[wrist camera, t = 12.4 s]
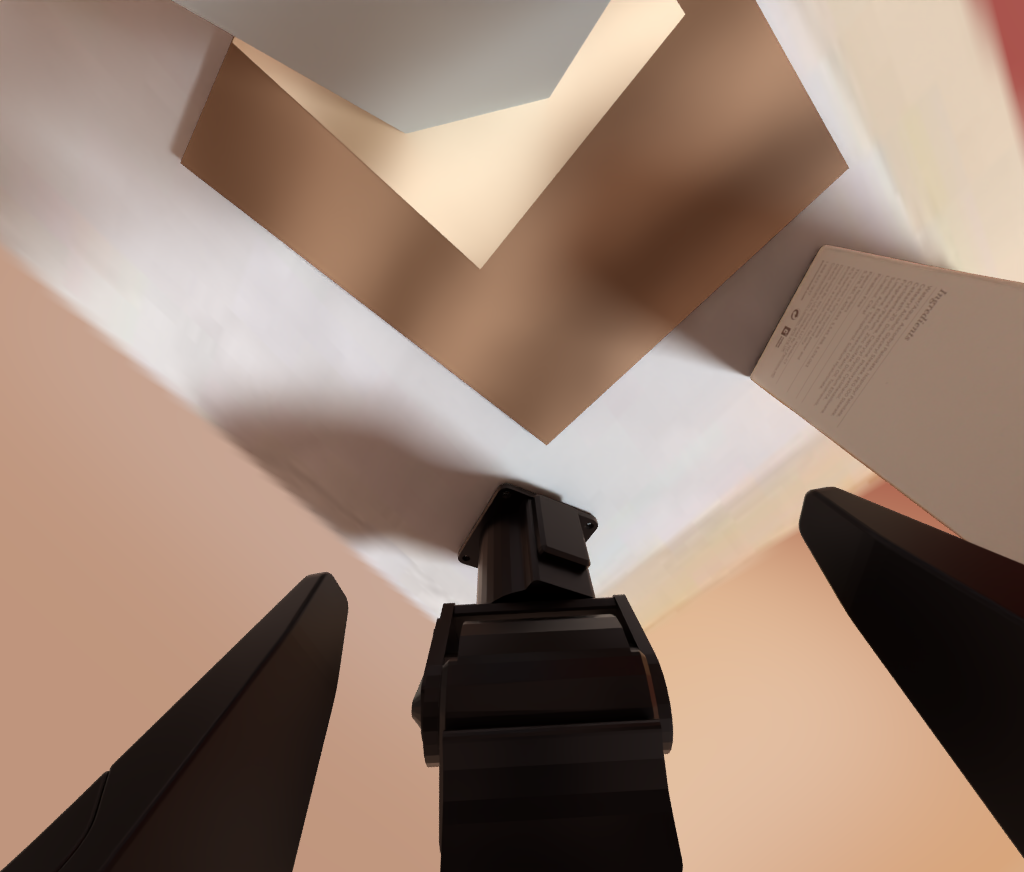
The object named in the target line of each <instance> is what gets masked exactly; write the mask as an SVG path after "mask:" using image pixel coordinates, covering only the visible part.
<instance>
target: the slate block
mask: <svg viewBox="0 0 1024 872" xmlns="http://www.w3.org/2000/svg"><path fill="white" fill-rule="evenodd" d="M172 1H173V2H175V3H177V4H179V5H180V6H182V7H184V8H186V9H187V10H189V11H191V12H193V13H194V14H196V15H198V16H200V17H201V18H203V19H205V20H207V21H208V22H210V23H212V24H214V25H215V26H217V27H219V28H221V29H223V30H224V31H226V32H228V33H230V34H231V35H233V36H235V37H237V38H238V39H240V40H242V41H244V42H245V43H247V44H249V45H251V46H252V47H254V48H256V49H258V50H259V51H261V52H263V53H265V54H266V55H268V56H270V57H272V58H273V59H275V60H277V61H279V62H281V63H282V64H284V65H286V66H288V67H289V68H291V69H293V70H295V71H296V72H298V73H300V74H302V75H303V76H305V77H307V78H309V79H310V80H312V81H314V82H316V83H317V84H319V85H321V86H323V87H324V88H326V89H328V90H330V91H331V92H333V93H335V94H337V95H339V96H340V97H342V98H344V99H346V100H347V101H349V102H351V103H353V104H354V105H356V106H358V107H360V108H361V109H363V110H365V111H367V112H368V113H370V114H372V115H374V116H375V117H377V118H379V119H381V120H382V121H384V122H386V123H388V124H389V125H391V126H393V127H395V128H397V129H398V130H400V131H402V132H404V133H405V134H407V133H411V132H415V131H419V130H423V129H427V128H431V127H435V126H439V125H443V124H447V123H451V122H455V121H459V120H463V119H467V118H471V117H475V116H479V115H483V114H487V113H491V112H495V111H499V110H503V109H507V108H511V107H515V106H519V105H523V104H527V103H531V102H535V101H539V100H543V99H547V98H549V97H550V96H551V94H552V93H553V91H554V89H555V88H556V86H557V85H558V83H559V82H560V80H561V78H562V77H563V75H564V74H565V72H566V70H567V69H568V67H569V66H570V64H571V63H572V61H573V59H574V58H575V56H576V55H577V53H578V51H579V50H580V48H581V47H582V45H583V43H584V42H585V40H586V39H587V37H588V36H589V34H590V32H591V31H592V29H593V28H594V26H595V24H596V23H597V21H598V20H599V18H600V16H601V15H602V13H603V12H604V10H605V9H606V7H607V5H608V4H609V2H610V1H611V0H172Z"/></svg>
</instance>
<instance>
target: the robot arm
mask: <svg viewBox="0 0 1024 872" xmlns="http://www.w3.org/2000/svg"><path fill="white" fill-rule="evenodd" d="M505 491H507V492H509V493H508V494H504V493H503V492H505ZM588 523H591V524H589V525H587V524H588ZM597 527H598V523H597V519H596V518H595V517H594V516H592V515H590V514H587V513H584V512H582V511H579V510H577V509H576V508H574V507H571V506H569V505H566V504H563V503H561V502H558V501H556V500H553V499H550V498H548V497H545V496H543V495H537V494H535V493H532V492H529V491H527V490H524V489H521V488H519V487H516V486H514V485H511V484H507V483H506V484H502V485H500V486H499V487H498V488H497V490H496V492H495V493H494V495H493V497H492V498H491V500H490V501H489V503H488V505H487V506H486V508H485V510H484V511H483V513H482V515H481V516H480V518H479V519H478V521H477V523H476V524H475V526H474V528H473V529H472V531H471V533H470V534H469V536H468V537H467V539H466V541H465V542H464V544H463V546H462V547H461V549H460V550H459V554H458V560H459V561H460V562H461V563H463V564H466V565H469V566H473V567H476V568H478V582H477V604H465V605H455V603H444V604H443V608H442V612H441V616H440V618H438V619H437V622H436V626H435V629H434V633H433V638H432V642H431V647H430V651H429V655H428V659H427V663H426V667H425V671H424V676H423V678H422V680H421V683H420V685H419V688H418V690H417V692H416V694H415V697H414V699H413V702H412V718H413V719H414V720H415V722H416V723H417V724H418V725H419V727H420V728H421V735H422V741H423V748H424V758H425V762H426V765H427V767H438V766H439V845H440V852H441V868H440V872H682V870H683V863H682V857H681V852H680V847H679V842H678V837H677V832H676V828H675V822H674V818H673V813H672V807H671V802H670V797H669V791H668V784H667V776H666V768H665V760H664V754H668V753H669V752H670V750H671V747H672V743H673V724H672V714H671V707H670V701H669V696H668V691H667V687H666V683H665V679H664V675H663V672H662V670H661V667H660V664H659V661H658V659H657V657H656V655H655V653H654V651H653V649H652V647H651V645H650V643H649V641H648V639H647V637H646V635H645V633H644V631H643V629H642V627H641V625H640V623H639V621H638V619H637V617H636V615H635V614H634V612H633V610H632V608H631V606H630V604H629V602H628V600H627V598H626V596H625V595H613V597H606V598H595V594H594V590H593V586H592V582H591V578H590V574H589V570H588V567H589V566H590V559H589V555H588V551H587V547H586V541H587V540H588V539H589V538H590V536H591V535H592V534H593V533H594V532H595V530H596V529H597ZM799 530H800V533H801V536H802V537H803V539H804V541H805V543H806V545H807V546H808V548H809V549H810V551H811V553H812V555H813V557H814V558H815V560H816V562H817V563H818V565H819V567H820V569H821V570H822V572H823V574H824V575H825V577H826V579H827V581H828V582H829V584H830V586H831V587H832V589H833V591H834V593H835V594H836V596H837V598H838V599H839V601H840V603H841V604H842V606H843V607H844V609H845V611H846V612H847V614H848V616H849V617H850V618H851V620H852V621H853V623H854V624H855V625H856V627H857V628H858V630H859V631H860V633H861V634H862V635H863V637H864V638H865V640H866V641H867V642H868V643H869V645H870V646H871V648H872V649H873V651H874V652H875V653H876V655H877V656H878V658H879V659H880V660H881V662H882V663H883V664H884V666H885V667H886V668H887V670H888V671H889V673H890V674H891V676H892V677H893V678H894V679H895V681H896V682H897V684H898V685H899V687H900V688H901V689H902V691H903V692H904V693H905V695H906V696H907V698H908V699H909V700H910V702H911V703H912V704H913V706H914V707H915V708H916V710H917V711H918V713H919V714H920V715H921V717H922V718H923V720H924V721H925V722H926V724H927V725H928V727H929V728H930V729H931V731H932V732H933V734H934V735H935V736H936V738H937V739H938V740H939V742H940V743H941V745H942V746H943V747H944V749H945V750H946V752H947V753H948V754H949V756H950V757H951V758H952V760H953V761H954V763H955V764H956V765H957V767H958V768H959V769H960V771H961V772H962V774H963V775H964V776H965V778H966V779H967V781H968V782H969V783H970V785H971V786H972V787H973V789H974V790H975V792H976V793H977V794H978V795H979V797H980V798H981V800H982V801H983V803H984V804H985V805H986V807H987V808H988V810H989V811H990V812H991V814H992V815H993V816H994V818H995V819H996V820H997V822H998V823H999V825H1000V826H1001V827H1002V829H1003V830H1004V832H1005V833H1006V834H1007V836H1008V837H1009V839H1010V840H1011V841H1012V843H1013V844H1014V845H1015V847H1016V848H1017V850H1018V851H1019V852H1020V854H1021V855H1022V857H1023V858H1024V564H1022V563H1019V562H1017V561H1015V560H1012V559H1010V558H1007V557H1005V556H1002V555H1000V554H998V553H995V552H993V551H990V550H988V549H985V548H983V547H980V546H978V545H976V544H973V543H971V542H968V541H966V540H963V539H961V538H958V537H956V536H954V535H951V534H949V533H946V532H944V531H941V530H939V529H936V528H934V527H932V526H929V525H927V524H924V523H921V522H919V521H917V520H914V519H912V518H910V517H907V516H905V515H902V514H900V513H897V512H895V511H892V510H890V509H888V508H885V507H883V506H880V505H878V504H876V503H873V502H871V501H868V500H866V499H863V498H861V497H858V496H856V495H854V494H851V493H849V492H846V491H844V490H841V489H839V488H836V487H825V488H819V489H813V490H810V491H808V492H807V493H806V494H805V497H804V502H803V506H802V511H801V515H800V519H799ZM465 555H467V556H465ZM347 614H348V601H347V598H346V596H345V594H344V593H343V591H342V590H341V588H340V587H339V585H338V583H337V582H336V580H335V579H334V577H333V576H332V574H330V573H328V572H323V573H317V574H311V575H308V576H306V577H305V578H304V579H303V580H302V581H301V582H299V583H298V585H297V586H295V587H294V588H293V589H292V590H291V591H290V592H289V593H288V594H287V595H286V596H285V597H284V598H283V599H282V600H281V601H280V602H279V603H278V604H277V605H276V606H275V607H274V608H273V609H272V610H271V611H270V612H269V613H268V614H267V615H266V616H265V617H264V618H263V619H262V620H261V621H260V622H259V623H258V624H256V625H255V626H254V627H253V628H252V629H251V630H250V631H249V632H248V633H247V634H246V635H245V636H244V637H243V638H242V639H241V640H240V641H239V642H238V643H237V644H236V645H235V646H234V647H233V648H232V649H231V650H230V651H229V652H228V653H227V654H226V655H225V656H224V657H223V658H222V659H221V660H220V661H219V662H217V663H216V664H215V665H214V666H213V668H211V669H210V670H209V671H208V672H207V673H206V674H205V675H204V676H203V677H202V678H201V679H200V680H199V681H198V682H197V683H196V684H195V685H194V686H193V687H192V688H191V689H190V690H189V691H188V692H187V693H186V694H185V695H184V696H183V697H182V698H181V699H180V700H178V701H177V702H176V703H175V704H174V705H173V706H172V707H171V708H170V709H169V710H168V711H167V712H166V713H165V714H164V715H163V716H162V717H161V718H160V719H159V720H158V721H157V722H156V723H155V724H154V725H153V726H152V727H151V728H150V729H149V730H148V731H147V732H146V733H145V734H144V735H143V736H142V737H141V738H140V739H138V741H136V742H135V743H134V744H133V746H131V747H130V748H129V749H128V750H127V751H126V752H125V753H124V754H123V755H122V756H121V757H120V758H119V759H118V760H117V761H116V762H115V763H114V764H113V765H112V766H111V768H110V771H107V772H105V773H104V774H102V776H100V777H99V778H98V779H97V780H96V781H95V782H94V783H93V784H92V785H91V786H90V787H89V788H88V789H87V790H86V791H85V792H84V793H83V794H82V795H81V796H80V797H79V798H78V799H77V800H76V801H75V802H74V803H73V804H72V805H71V806H70V807H69V808H67V809H66V811H64V812H63V813H62V814H61V815H60V816H59V817H58V818H57V819H56V820H55V821H54V822H53V823H52V824H51V825H50V826H49V827H47V829H45V830H44V832H42V833H41V834H40V835H39V836H38V837H37V838H36V839H35V840H34V841H33V842H32V843H31V844H30V845H29V846H28V847H26V848H25V849H24V850H23V851H22V852H21V853H20V854H19V855H18V856H17V857H15V858H14V859H13V860H12V861H11V862H10V863H9V864H8V865H7V866H6V867H5V868H3V870H1V871H0V872H292V870H293V867H294V862H295V858H296V854H297V850H298V846H299V841H300V838H301V834H302V830H303V826H304V822H305V817H306V813H307V809H308V805H309V801H310V797H311V793H312V789H313V785H314V781H315V776H316V772H317V768H318V764H319V760H320V756H321V752H322V747H323V744H324V739H325V735H326V731H327V727H328V723H329V719H330V715H331V711H332V707H333V703H334V698H335V693H336V689H337V683H338V677H339V670H340V663H341V656H342V650H343V643H344V635H345V628H346V621H347Z"/></svg>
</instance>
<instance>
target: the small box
mask: <svg viewBox="0 0 1024 872" xmlns="http://www.w3.org/2000/svg"><path fill="white" fill-rule="evenodd" d="M750 378H751V380H752V381H754V382H755V383H756V384H758V385H759V386H760V387H761V388H763V389H764V390H765V391H767V392H768V393H769V394H771V395H772V396H773V397H775V398H776V399H777V400H779V401H780V402H781V403H783V404H784V405H785V406H787V407H788V408H790V409H791V410H792V411H794V412H795V413H796V414H798V415H799V416H800V417H802V418H803V419H804V420H806V421H807V422H808V423H810V424H811V425H812V426H814V427H815V428H816V429H817V430H819V431H820V432H821V433H823V434H824V435H825V436H827V437H828V438H829V439H831V440H832V441H833V442H835V443H836V444H837V445H839V446H840V447H841V448H842V449H844V450H845V451H846V452H848V453H849V454H850V455H852V456H853V457H854V458H856V459H857V460H858V461H860V462H861V463H862V464H864V465H865V466H866V467H868V468H869V469H870V470H872V471H873V472H874V473H876V474H877V475H878V476H880V477H881V478H882V479H884V480H885V481H886V482H888V483H889V484H890V485H892V486H893V487H895V488H896V489H897V490H898V491H900V492H901V493H902V494H904V495H905V496H906V497H908V498H909V499H910V500H911V501H913V502H914V503H916V504H917V505H918V506H919V507H921V508H922V509H923V510H925V511H926V512H927V513H929V514H930V515H931V516H933V517H934V518H936V519H937V520H938V521H939V522H941V523H942V524H943V525H945V526H946V527H947V528H949V529H950V530H952V531H953V532H954V533H955V534H957V535H958V536H959V537H961V538H962V539H963V540H966V541H968V542H971V543H973V544H976V545H978V546H980V547H983V548H985V549H988V550H990V551H993V552H995V553H998V554H1000V555H1002V556H1005V557H1007V558H1010V559H1012V560H1015V561H1017V562H1019V563H1022V564H1024V283H1021V282H1015V281H1010V280H1004V279H999V278H993V277H988V276H982V275H977V274H971V273H966V272H960V271H955V270H949V269H944V268H939V267H933V266H928V265H923V264H918V263H914V262H909V261H904V260H899V259H894V258H889V257H884V256H880V255H875V254H870V253H865V252H860V251H855V250H850V249H846V248H841V247H836V246H830V245H824V246H822V247H821V248H820V250H819V251H818V253H817V255H816V257H815V259H814V260H813V262H812V264H811V265H810V267H809V269H808V271H807V273H806V275H805V276H804V278H803V280H802V282H801V284H800V285H799V287H798V289H797V291H796V293H795V295H794V297H793V298H792V300H791V302H790V304H789V305H788V307H787V309H786V311H785V313H784V315H783V317H782V318H781V320H780V322H779V324H778V326H777V327H776V329H775V331H774V333H773V335H772V337H771V338H770V340H769V342H768V344H767V346H766V348H765V350H764V352H763V354H762V355H761V357H760V359H759V361H758V363H757V365H756V367H755V368H754V370H753V372H752V374H751V377H750Z"/></svg>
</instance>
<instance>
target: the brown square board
mask: <svg viewBox="0 0 1024 872" xmlns="http://www.w3.org/2000/svg"><path fill="white" fill-rule="evenodd" d="M181 164H182V165H183V166H185V167H186V168H187V169H189V170H190V171H191V172H193V173H194V174H195V175H196V176H198V177H199V178H200V179H202V180H203V181H204V182H206V183H207V184H208V185H209V186H211V187H212V188H213V189H215V190H216V191H217V192H218V193H220V194H221V195H222V196H224V197H225V198H226V199H228V200H229V201H230V202H231V203H233V204H234V205H235V206H237V207H238V208H239V209H241V210H242V211H243V212H244V213H246V214H247V215H248V216H250V217H251V218H252V219H254V220H255V221H256V222H257V223H259V224H260V225H261V226H263V227H264V228H265V229H267V230H268V231H269V232H270V233H272V234H273V235H274V236H276V237H277V238H278V239H279V240H281V241H282V242H283V243H285V244H286V245H287V246H289V247H290V248H291V249H292V250H294V251H295V252H296V253H298V254H299V255H300V256H302V257H303V258H304V259H305V260H307V261H308V262H309V263H311V264H312V265H313V266H315V267H316V268H317V269H318V270H320V271H321V272H322V273H324V274H325V275H326V276H328V277H329V278H330V279H331V280H333V281H334V282H335V283H337V284H338V285H339V286H340V287H342V288H343V289H344V290H346V291H347V292H348V293H350V294H351V295H352V296H353V297H355V298H356V299H357V300H359V301H360V302H361V303H363V304H364V305H365V306H366V307H368V308H369V309H370V310H372V311H373V312H374V313H376V314H377V315H378V316H379V317H381V318H382V319H383V320H385V321H386V322H387V323H389V324H390V325H391V326H392V327H394V328H395V329H396V330H398V331H399V332H400V333H401V334H403V335H404V336H405V337H407V338H408V339H409V340H411V341H412V342H413V343H414V344H416V345H417V346H418V347H420V348H421V349H422V350H424V351H425V352H426V353H427V354H429V355H430V356H431V357H433V358H434V359H435V360H437V361H438V362H439V363H440V364H442V365H443V366H444V367H446V368H447V369H448V370H450V371H451V372H452V373H453V374H455V375H456V376H457V377H459V378H460V379H461V380H463V381H464V382H465V383H466V384H468V385H469V386H470V387H472V388H473V389H474V390H475V391H477V392H478V393H479V394H481V395H482V396H483V397H485V398H486V399H487V400H488V401H490V402H491V403H492V404H494V405H495V406H496V407H498V408H499V409H500V410H501V411H503V412H504V413H505V414H507V415H508V416H509V417H511V418H512V419H513V420H514V421H516V422H517V423H518V424H520V425H521V426H522V427H524V428H525V429H526V430H527V431H529V432H530V433H531V434H533V435H534V436H535V437H536V438H538V439H539V440H540V441H542V442H543V443H544V444H546V445H547V444H549V443H550V442H551V441H552V440H553V439H554V438H555V437H556V436H557V435H558V434H559V433H561V432H562V431H563V430H564V429H565V428H566V427H567V426H568V425H569V424H570V423H571V422H573V421H574V420H575V419H576V418H577V417H578V416H579V415H580V414H581V413H582V412H583V411H585V410H586V409H587V408H588V407H589V406H590V405H591V404H592V403H593V402H594V401H595V400H597V399H598V398H599V397H600V396H601V395H602V394H603V393H604V392H605V391H606V390H607V389H609V388H610V387H611V386H612V385H613V384H614V383H615V382H616V381H617V380H618V379H619V378H621V377H622V376H623V375H624V374H625V373H626V372H627V371H628V370H629V369H630V368H631V367H633V366H634V365H635V364H636V363H637V362H638V361H639V360H640V359H641V358H642V357H643V356H644V355H646V354H647V353H648V352H649V351H650V350H651V349H652V348H653V347H654V346H655V345H656V344H658V343H659V342H660V341H661V340H662V339H663V338H664V337H665V336H666V335H667V334H668V333H670V332H671V331H672V330H673V329H674V328H675V327H676V326H677V325H678V324H679V323H680V322H682V321H683V320H684V319H685V318H686V317H687V316H688V315H689V314H690V313H691V312H692V311H694V310H695V309H696V308H697V307H698V306H699V305H700V304H701V303H702V302H703V301H704V300H706V299H707V298H708V297H709V296H710V295H711V294H712V293H713V292H714V291H715V290H716V289H718V288H719V287H720V286H721V285H722V284H723V283H724V282H725V281H726V280H727V279H728V278H730V277H731V276H732V275H733V274H734V273H735V272H736V271H737V270H738V269H739V268H740V267H742V266H743V265H744V264H745V263H746V262H747V261H748V260H749V259H750V258H751V257H752V256H754V255H755V254H756V253H757V252H758V251H759V250H760V249H761V248H762V247H763V246H764V245H766V244H767V243H768V242H769V241H770V240H771V239H772V238H773V237H774V236H775V235H776V234H778V233H779V232H780V231H781V230H782V229H783V228H784V227H785V226H786V225H787V224H788V223H790V222H791V221H792V220H793V219H794V218H795V217H796V216H797V215H798V214H799V213H800V212H801V211H803V210H804V209H805V208H806V207H807V206H808V205H809V204H810V203H811V202H812V201H813V200H815V199H816V198H817V197H818V196H819V195H820V194H821V193H822V192H823V191H824V190H825V189H827V188H828V187H829V186H830V185H831V184H832V183H833V182H834V181H835V180H836V179H837V178H839V177H840V176H841V175H842V174H843V173H844V172H845V171H846V170H847V169H848V168H849V167H848V165H847V164H846V162H845V160H844V158H843V156H842V155H841V153H840V151H839V149H838V147H837V146H836V144H835V142H834V140H833V138H832V137H831V135H830V133H829V131H828V130H827V128H826V126H825V124H824V122H823V121H822V119H821V117H820V115H819V113H818V112H817V110H816V108H815V106H814V104H813V103H812V101H811V99H810V97H809V95H808V94H807V92H806V90H805V88H804V86H803V85H802V83H801V81H800V79H799V77H798V76H797V74H796V72H795V70H794V69H793V67H792V65H791V63H790V61H789V60H788V58H787V56H786V54H785V52H784V51H783V49H782V47H781V45H780V43H779V42H778V40H777V38H776V36H775V34H774V33H773V31H772V29H771V27H770V25H769V24H768V22H767V20H766V18H765V17H764V15H763V13H762V11H761V9H760V8H759V6H758V4H757V2H756V0H611V1H610V2H609V4H608V5H607V7H606V9H605V10H604V12H603V13H602V15H601V16H600V18H599V20H598V21H597V23H596V24H595V26H594V28H593V29H592V31H591V32H590V34H589V36H588V37H587V39H586V40H585V42H584V43H583V45H582V47H581V48H580V50H579V51H578V53H577V55H576V56H575V58H574V59H573V61H572V63H571V64H570V66H569V67H568V69H567V70H566V72H565V74H564V75H563V77H562V78H561V80H560V82H559V83H558V85H557V86H556V88H555V89H554V91H553V93H552V94H551V96H550V97H549V98H547V99H543V100H539V101H535V102H531V103H527V104H523V105H519V106H515V107H511V108H507V109H503V110H499V111H495V112H491V113H487V114H483V115H479V116H475V117H471V118H467V119H463V120H459V121H455V122H451V123H447V124H443V125H439V126H435V127H431V128H427V129H423V130H419V131H415V132H411V133H407V134H405V133H404V132H402V131H400V130H398V129H397V128H395V127H393V126H391V125H389V124H388V123H386V122H384V121H382V120H381V119H379V118H377V117H375V116H374V115H372V114H370V113H368V112H367V111H365V110H363V109H361V108H360V107H358V106H356V105H354V104H353V103H351V102H349V101H347V100H346V99H344V98H342V97H340V96H339V95H337V94H335V93H333V92H331V91H330V90H328V89H326V88H324V87H323V86H321V85H319V84H317V83H316V82H314V81H312V80H310V79H309V78H307V77H305V76H303V75H302V74H300V73H298V72H296V71H295V70H293V69H291V68H289V67H288V66H286V65H284V64H282V63H281V62H279V61H277V60H275V59H273V58H272V57H270V56H268V55H266V54H265V53H263V52H261V51H259V50H258V49H256V48H254V47H252V46H251V45H249V44H247V43H245V42H244V41H242V40H240V39H238V38H237V37H235V36H234V37H233V39H232V42H231V44H230V47H229V49H228V51H227V54H226V56H225V58H224V61H223V63H222V65H221V68H220V70H219V73H218V75H217V77H216V80H215V82H214V84H213V87H212V89H211V92H210V94H209V96H208V99H207V101H206V103H205V106H204V108H203V110H202V113H201V115H200V118H199V120H198V122H197V125H196V127H195V129H194V132H193V134H192V137H191V139H190V141H189V144H188V146H187V148H186V151H185V153H184V155H183V158H182V160H181Z"/></svg>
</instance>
